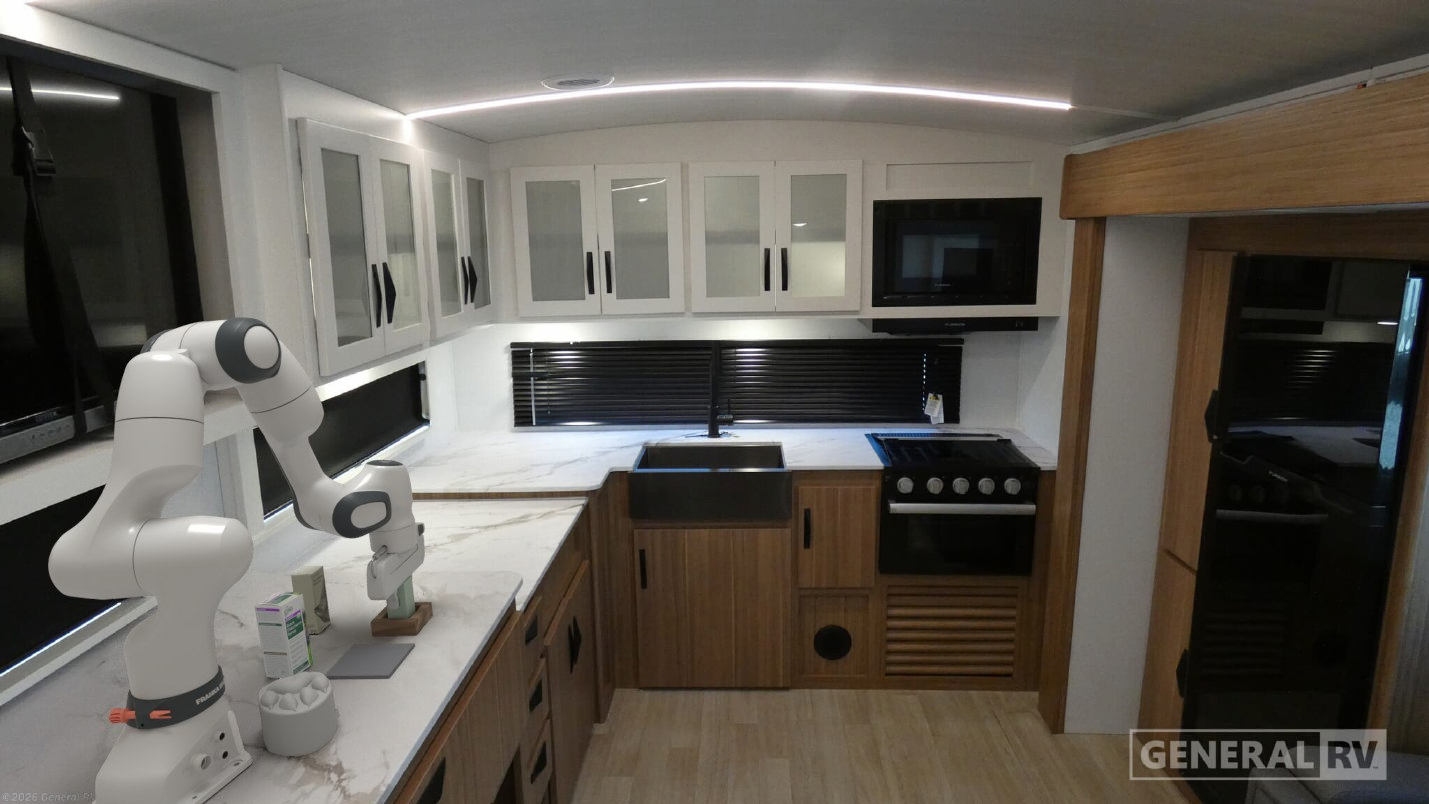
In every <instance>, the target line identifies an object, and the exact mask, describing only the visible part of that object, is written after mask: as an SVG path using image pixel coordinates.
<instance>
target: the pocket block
mask: <svg viewBox="0 0 1429 804" xmlns="http://www.w3.org/2000/svg"><path fill="white" fill-rule="evenodd" d="M415 610H416V612H415V613H414V615H413V616H412V617H411V618H388V611H387V605H385V607H384V608H383V609H381V611H379V613H377V615H376V616H374V617H373V618H372V620H371V621H370V629H371V631H370V632H371V636H372V637H384V636H385V637H386V636H387V637H389V636H390V637H396V636H397V637H398V636H400V637H402V636H417V635H418V634H419V633H420V632H421V630H422V629H423V628H424V627H425V626H426V624H428V622H429V621H430V620H431V618H432V617H433V616H434V612H433V604H432V601H415Z"/></svg>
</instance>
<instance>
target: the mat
mask: <svg viewBox="0 0 1429 804" xmlns="http://www.w3.org/2000/svg"><path fill="white" fill-rule="evenodd" d="M415 647H416V643H414V642H413V643H412V642H411V643H410V642H409V643H354V644H353V645H352V646H351V647H349V649H348V650H347V651H346V652H345V653H343V655H342V656H341V657H340V658H339V659H338V660H337V661H336V662H335V663H334V665H332V666H331V667H330V669H329V670H328V671H326V673H325V674H324V675H325V676H326V677H327V678H328V679H329V680H347V679H348V680H353V679H356V680H358V679H362V680H363V679H365V680H366V679H367V680H368V679H390V678H391V677H392V675H393V674H394V673H395V672H396V671H397V669H398V668H399V667H400V666H401V665H402V663H403V662H404V660H406V658H407V657H408V656H409V655H410V653H411V652H412V650H414V649H415Z"/></svg>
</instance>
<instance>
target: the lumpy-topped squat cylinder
mask: <svg viewBox="0 0 1429 804" xmlns="http://www.w3.org/2000/svg"><path fill="white" fill-rule="evenodd" d="M257 702H258V708H259V709H258V710H259V715H260V723H261V728H262V735H263V741H264V742H263V743H264V745H265V748H266V749H267V750H268V752H270V753H272V754H274V755H277V756H280V755H282V756H281V757H287V756H288V758H290V757H289V756H295V757H302V755H303V756H307V755H310V754H312V753H315V752H317V751H319V750H321V749H322V748H323V747H325V746H326V745H327V744H329V743H330V742H331V741H332V739H333V738H334V736H335V734H336V733H337V731H338V720H337V712H336V705H335V698H334V689H333V685H332V683H331V681H330V679H328V678H327V677H326V676H325V674H324V673H323V672H320V671H303V672H301V673H298V674H295V675H293V676H290V677H285V678H282V679H278V678H276V679H275V680H273V681H272V682H270V683H268V684H266V685H264V686H263V687H262V688H261V689H260V690H259V691H258V693H257Z"/></svg>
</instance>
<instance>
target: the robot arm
mask: <svg viewBox="0 0 1429 804" xmlns="http://www.w3.org/2000/svg"><path fill="white" fill-rule="evenodd" d="M231 388H232V389H233V388H234V389H236V390H237V391H238V394H239V396H240V398H241V400H242V402H243V403H244V406H245V407H246V409H247V410H248V412H249V414H250V416H251V417H252V419H253V420H254V422H255V424H256V425H257V426H258V428H259V430H260V431H261V433H262V434H263V436H264V438H265V440H266V442H267V444H268V446H269V449H270V450H271V453H272V455H273V457H274V459H275V461H276V463H277V465H278V467H279V468H280V470H281V472H282V474H283V476H284V479H285V480H286V483H287V484H288V486H289V490H290V492H291V497H292V498H291V499H292V506H293V507H292V508H293V512H294V515H295V518H296V519H297V521H298V522H299V523H300V525H302V526H303V527H305V528H307V529H309V530H313V531H319V532H320V531H321V532H324V533H327V534H330V535H333V536H336V537H337V536H338V537H340V538H344V539H358V538H362V537H364V536H366V535H368V537H369V546H370V550H371V552H372V553H373V554H372V556H371V557H372V558H371V560H369V562H368V564H367V566H366V591H367V597H368V598H369V600H370V601H386V600H388V603H389V608H390V609H398V607H399V606H400V605H401V603H400V598H398V597H397V594H396V593H397V589H398V588H399V587H400V586H401V585H402V584H403V583H404V582H405V580H406V579H407V578H408V577H409V576H412V577H413V574H414V573H415V571H416V570H418V568H419V567H421V566H422V565H423V564H424V560H425V556H426V551H425V549H426V548H425V547H426V546H425V536H424V534H425V530H426V528H425V523H424V522H417V521H416V517H415V516H414V512H413V509H412V508H413V502H414V498H413V490H412V483H411V478H410V474H409V471H408V469H407V466H406V465H404V464H403V463H402V462H400V461H395V460H393V459H391V460H389V459H373V460H370V461H367V462H365V464H364V466H363V467H362V469H361V470H360V471H359V473H358V474H357V475H356V476H354V477H353V478H352V479H351V480H349V481H348V482H346V483H345V484H343V483H341V482H338V481H336V480H333V479H332V478H330V477H329V476H328V475H327V474H325V472H324V470H323V469H322V467H321V465H320V464H319V461H318V459H317V457H316V454H314V450H313V449H312V446H311V444H310V442H309V441H310V440H309V437H310V436H312V435H313V434H314V433H315V432H317V430H318V429H319V427H320V426H321V424H322V422H323V419H324V416H325V412H324V407H323V404H322V401H321V398H320V396H319V394H318V392H317V390H316V387H315V386H314V384H313V382H312V381H311V379H310V378H309V375H308V374H307V372H306V371H305V370H304V368H303V366H302V365H301V363H300V362H299V360H298V359H297V358H296V356H294V354H293V353H292V352H291V350H290V349H289V348H288V347H287V346H286V345H285V343H283V341H281V340H280V339H279V338H278V336H277V334H276V333H275V332H274V331H273V329H272V328H271V327H269V325H267V324H266V323H265V322H263V321H261V320H259V319H257V318H252V317H244V316H243V317H239V316H238V317H237V316H236V317H231V318H229V319H221V320H220V319H219V320H209V321H198V322H193V323H189V324H186V325H182V326H179V327H177V328H169V329H165V330H163V331H161V332H158V333H156V334H154V335H153V336H151V337H150V338H148V339H147V340H146V341H145V343H144V344H143V346H142V348H141V350H140V352H139V354H137V355H135V356H134V357H132V359H131V360H129V362H128V363H127V364H126V367H125V369H124V373H123V376H122V378H121V382H120V386H119V390H118V396H117V401H116V407H115V408H116V409H115V415H114V416H115V417H114V431H113V433H114V434H113V445H112V454H111V460H110V461H111V462H110V469H109V474H108V478H107V481H106V484H105V486H104V488H103V490H102V493H101V494H100V496H99V498H98V499H97V501H96V503H95V504H94V505H93V507H92V508H91V509H90V510H89V512H88V513H87V514H86V515H85V517H84V518H83V519H81V521H79V522H78V523H77V524H75V526H73V527H72V528H70V529H68V530H67V531H66V532H65V533H63V534H62V535H61V536H60V537H59V539H58V540H57V541H56V542H55V543H54V545H53V547H52V549H51V552H50V555H49V557H48V573H49V577H50V579H51V581H52V583H53V585H54V586H55V587H56V589H57V591H59V592H60V593H61V594H63V595H65V596H67V597H73V598H81V599H89V600H90V599H93V600H94V599H95V600H112V599H113V600H117V599H125V598H126V599H127V598H128V599H129V598H138V597H155V600H156V602H157V612H155V613H153V614H152V615H150V616H148V617H146V618H145V619H144V620H142V621H141V622H139V623H138V624H136V625H135V626H134V627H133V628H132V629H131V630H130V631H129V632H128V634H127V636H126V637H125V641H124V643H123V647H122V652H123V653H122V654H123V657H124V662H125V667H126V669H125V670H126V673H127V679H128V684H129V690H128V693H127V695H126V696H127V698H126V703H125V708H121V707H120V708H119V707H115V708H113V709H111V711H110V712H109V715H108V721H109V723H111V724H118V723H119V724H120V723H121V724H124V726H123V729H122V730H121V732H120V734H119V735H118V737H117V738H116V740H115V742H114V745H113V747H112V748H111V749H110V751H109V754H108V756H106V758H105V761H104V762H103V764H102V766H101V768H100V769H99V771H98V773H97V774H96V778H95V782H94V795H95V796H94V797H95V798H94V800H93V801H92V802H91V804H204V803H205V802H206V801H208V800H209V799H210V798H211V797H213V796H214V795H215V794H216V793H217V792H219V791H220V790H221V789H222V788H224V787H225V786H226V785H227V784H229V783H230V782H232V780H233V779H236V777H237V776H238V775H240V774H241V773H242V772H244V771H245V770H246V769H247V768H248V767H250V766H251V765H252V763H253V758H252V755H251V753H249V752H248V751H247V750H246V749H245V745H244V743H243V739H242V736H241V733H240V729H239V726H238V725H239V724H238V721H237V719H236V716H235V713H234V711H233V710H232V707H230V705H229V703H228V700H226V699H227V698H226V696H225V692H226V685H225V681H226V680H225V678H226V677H225V675H224V673H223V669H222V667H221V665H220V664H219V662H218V658H217V657H218V656H217V648H216V640H215V638H216V636H215V619H216V613H217V610H218V608H219V605H220V604H221V601H222V599H223V598H224V596H225V595H226V593H228V591H229V590H230V589H231V588H232V587H233V586H234V585H236V584H237V583H238V582H239V581H241V579H242V578H243V577H244V576H245V575H246V574H247V572H248V571H249V568H250V567H251V564H252V562H253V559H254V553H255V552H254V551H255V550H254V549H255V548H254V542H253V537H252V535H251V533H250V532H249V529H248V528H247V527H246V526H245V525H244V524H243V522H241V521H240V520H239V519H237V518H232V517H231V518H229V517H225V516H224V517H222V516H215V515H213V516H212V515H203V514H202V515H201V514H200V515H188V516H175V517H174V516H173V517H171V516H170V517H162V513H163V511H164V509H165V506H166V505H167V504H168V502H169V501H170V500H171V499H172V498H173V497H174V496H175V495H176V494H178V493H180V492H182V491H184V490H186V489H188V488H189V487H191V486H192V485H193V484H194V483H196V481H197V480H198V479H199V478H200V476H201V474H202V472H203V465H204V464H203V463H204V441H205V439H204V438H205V403H204V402H205V401H204V397H205V395H206V393H207V391H221V390H222V391H223V390H227V389H231ZM161 517H162V518H161Z"/></svg>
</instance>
